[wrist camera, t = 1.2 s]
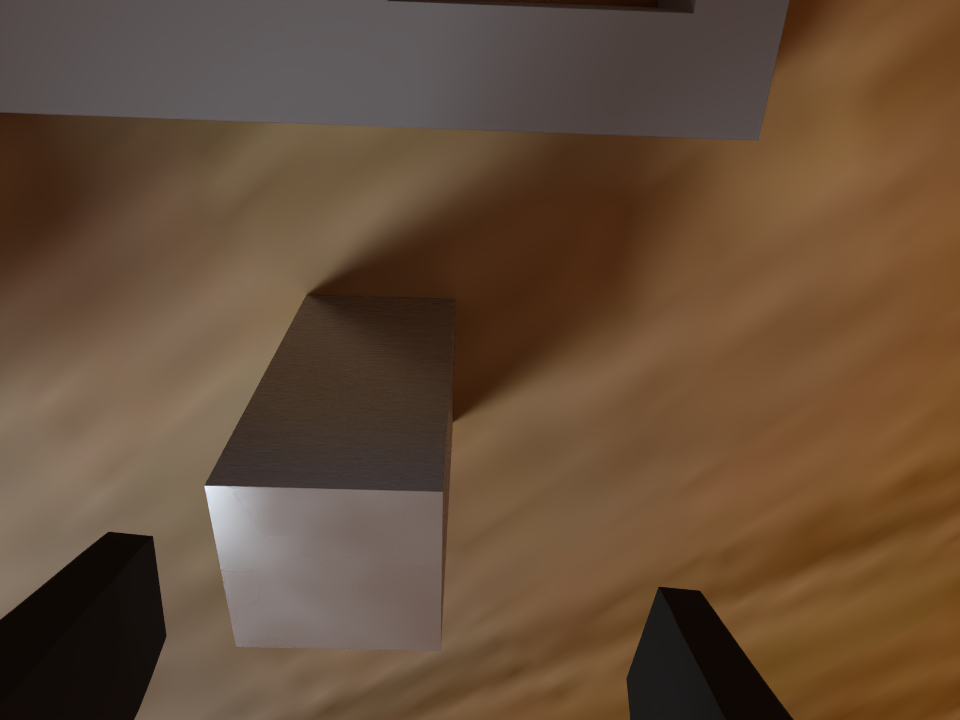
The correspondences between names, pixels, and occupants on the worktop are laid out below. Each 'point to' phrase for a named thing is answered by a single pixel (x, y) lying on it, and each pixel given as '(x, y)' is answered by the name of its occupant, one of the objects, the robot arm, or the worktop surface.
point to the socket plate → (400, 63)
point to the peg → (342, 480)
